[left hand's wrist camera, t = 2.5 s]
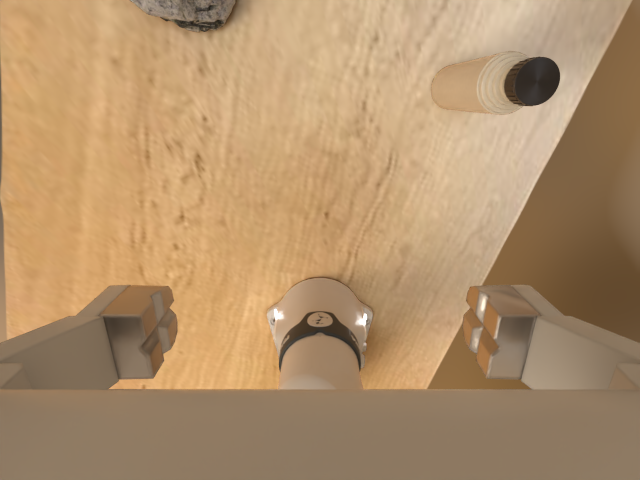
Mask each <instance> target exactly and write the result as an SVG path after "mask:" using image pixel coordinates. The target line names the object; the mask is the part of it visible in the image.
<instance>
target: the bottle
mask: <svg viewBox="0 0 640 480" xmlns="http://www.w3.org/2000/svg"><path fill="white" fill-rule="evenodd" d="M528 58H529V57H528V56H526V55H524V54H522V53H520V52H515V51H508V52H503V53H499V54H495V55H490V56H486V57H482V58H478V59H474V60H470V61H466V62H461V63H457V64H453V65H449V66H446V67H444V68H443V69H441V70H440V71H439V72H438V73H437V74H436V76H435V78H434V80H433V82H432V86H431V94H432V98H433V100H434V102H435V103H436V104H437V105H438V106H439V107H441V108H443V109H447V110H457V111H467V112H477V113H487V114H496V115H505V114H509V113H512V112H515V111H516V110H518V109H520V108H522V107H523V106H518V105H517V104H513V103H512V102H511V101H509V99H508V98H507V97H506V94H505V91H504V82H505V79H506V76H507V74H508V72H509V71H510V69H511V68H512V67H513V66H514V65H515V64H517V63H519V61H523V60H525V59H528Z"/></svg>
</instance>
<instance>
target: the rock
mask: <svg viewBox="0 0 640 480" xmlns="http://www.w3.org/2000/svg"><path fill="white" fill-rule="evenodd" d="M130 1H131V2H133V3H135V4H136V5H137V6H138V7H139V8H140V9H141V10H143V11H144V12H145V13H147V14H149V15H153V16H159V17H161V18H162V19H164V20H165V21H173V22H174V23H176V24H177V25H178V26H179V27H182V28H185V29H186V30H190V31H195V32H200V30H201V31H204V32H205V31H207V30H209V29H210V30H218V29H219V28H221V27H222V26H223V25H224V24H225V22H226V20H227V18H228V17H229V15H230V13H231V12H232V8H233V6H234V4H235V3H236V0H130Z"/></svg>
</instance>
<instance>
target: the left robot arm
mask: <svg viewBox="0 0 640 480" xmlns="http://www.w3.org/2000/svg"><path fill="white" fill-rule="evenodd" d="M173 301H174V299H173V294H172V290H171V289H170V287H169V286H143V285H132V286H131V285H113V286H109V287H108V288H107V289H105V290H104V291H103V292H102V293H101V294H100V295H99V296H97V297H96V298H95V299H94V300H93V301H92V302H91V303H90V304H88V305H87V306H86V307H85V308H84V309H83V310H82V311H81V312H79V313H78V314H77V315H76V316H68V317H66V318H63V319H61V320H58V321H55V322H53V323H50V324H48V325H45V326H43V327H40V328H38V329H35V330H32V331H30V332H27V333H25V334H22V335H20V336H17V337H15V338H12V339H9V340H7V341H4V342H2V343H0V480H640V343H638V342H636V341H633V340H630V339H628V338H625V337H623V336H620V335H618V334H615V333H613V332H610V331H607V330H605V329H602V328H600V327H597V326H595V325H592V324H590V323H587V322H584V321H582V320H579V319H577V318H574V317H572V316H564V315H563V314H562V313H561V312H559V311H558V310H557V309H556V308H555V307H554V306H553V305H552V304H550V303H549V302H548V301H547V300H546V299H545V298H544V297H543V296H541V295H540V294H539V293H538V292H537V291H536V290H535V289H534V288H532V287H531V286H529V285H496V286H472V287H470V288H469V291H468V293H467V299H466V301H467V303H468V304H469V306H470V309H469V310H468V311H467V312H466V313H465V314H464V317H463V325H462V326H463V336H464V339H465V342H466V344H467V346H468V348H469V349H470V350H471V351H473V352H475V353H476V354H477V357H476V361H477V363H478V365H479V366H480V368H481V370H482V371H483V373H484V375H485V376H486V378H487V379H521V381H522V382H523V383H525V384H526V385H527V386H529V387H530V388H531V389H363V386H362V382H361V377H360V369H361V368H364V364H365V355H363V354H362V353H363V351H366V348H367V344H366V343H365V342H366V339H367V335H368V332H369V329H370V325H371V322H372V318H373V311H372V309H371V308H370V307H368V306H367V305H365V304H363V303H362V302H360V301H359V300H358V299H357V297H356V296H355V294H354V293H353V292H352V291H351V290H350V289H349V288H348V287H347V286H345V285H344V284H342V283H340V282H338V281H336V280H333V279H328V278H312V279H307V280H304V281H302V282H300V283H298V284H296V285H295V286H293V287H292V288H291V289H290V290H289V291H288V292H287V293H286V294H285V296H284V297H283V299H282V300H281V301H280V302H279V303H277V304H275V305H273V306H272V307H270V308H269V309H268V311H267V318H268V322H269V325H270V329H271V332H272V335H273V339H274V342H275V346H276V349H277V352H278V356H279V369H280V379H279V386H278V389H109V388H110V387H111V386H113V385H114V384H115V383H117V382H118V381H119V379H152V378H154V377H155V375H156V373H157V371H158V370H159V368H160V366H161V365H162V363H163V361H164V357H163V354H164V353H165V352H167V351H169V350H170V349H171V348H172V346H173V344H174V342H175V339H176V335H177V317H176V314H175V313H174V312H173V311H172V310H171V309H170V306H171V304H172V303H173ZM273 319H275V320H273ZM366 319H367V320H366Z"/></svg>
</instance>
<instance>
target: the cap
mask: <svg viewBox="0 0 640 480" xmlns="http://www.w3.org/2000/svg"><path fill="white" fill-rule="evenodd" d="M559 81H560V72H559V68H558V66H557V65H556V63H555V62H554V61H553V60H551V59H549V58H546V57H536V58H535V57H534V58H528V59H525V60H523V61H519V63H517V64H515V65H514V66H513V67H512V68H511V69H510V71H509V72H508V74H507V76H506V79H505V82H504V91H505V94H506V97H507V98H508V99H509V101H511V102H512V103H513V104H517V105H518V106H533V105H539V104H542V103H544V102H545V101H547V100H548V99H549V98H550V97H551V96H552V95H553V94H554V93H555V91H556V89H557V87H558V85H559Z"/></svg>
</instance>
